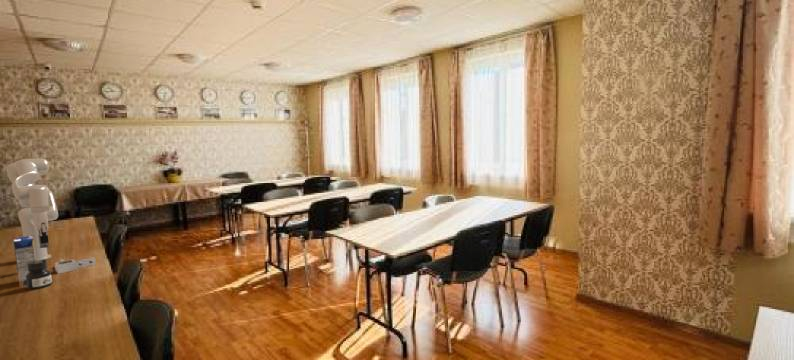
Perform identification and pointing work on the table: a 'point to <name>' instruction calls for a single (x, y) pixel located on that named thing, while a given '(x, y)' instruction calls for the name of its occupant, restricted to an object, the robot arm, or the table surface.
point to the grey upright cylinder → (43, 243)
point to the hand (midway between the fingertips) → (44, 241)
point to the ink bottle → (38, 275)
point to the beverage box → (24, 256)
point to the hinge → (73, 264)
